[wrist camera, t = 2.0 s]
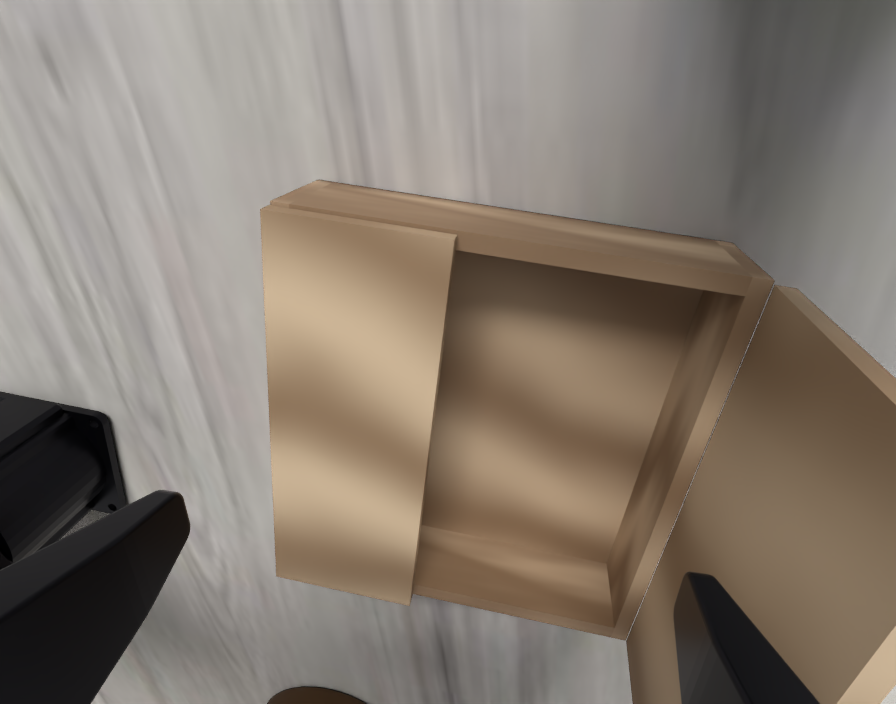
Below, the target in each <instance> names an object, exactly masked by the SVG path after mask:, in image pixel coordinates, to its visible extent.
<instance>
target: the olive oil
mask: <svg viewBox="0 0 896 704" xmlns="http://www.w3.org/2000/svg"><path fill="white" fill-rule="evenodd" d="M267 704H366V703H364V702H362V701H360V700H358V699H356V698H354V697H352V696H349V695H347V694H344V693H341V692H338V691H334V690H330V689H325V688H318V687H297V688H291V689H288V690H285V691H282V692H280V693H278V694H276V695H275V696H273V697H272V698H271V699H270V700H269V702H268V703H267Z"/></svg>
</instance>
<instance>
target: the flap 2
mask: <svg viewBox="0 0 896 704" xmlns="http://www.w3.org/2000/svg"><path fill="white" fill-rule="evenodd" d="M689 571H691V572H698V573H704V574H710V575H712V576H713V577H715V578H716V579H717V580H718V581H719V583H720V584H721V585H722V586H723V587H724V589H725V590H726V591H727V592H728V593H729V595H730V596H731V597H732V598H733V599H734V601H735V602H736V603H737V604H738V605H739V607H740V608H741V609H742V610H743V611H744V613H745V614H746V615H747V616H748V617H749V619H750V620H751V621H752V622H753V623H754V625H755V626H756V627H757V628H758V629H759V631H760V632H761V633H762V634H763V635H764V637H765V638H766V639H767V640H768V641H769V643H770V644H771V645H772V646H773V647H774V649H775V650H776V651H777V652H778V653H779V655H780V656H781V657H782V658H783V659H784V661H785V662H786V663H787V664H788V665H789V667H790V668H791V669H792V670H793V671H794V673H795V674H796V675H797V676H798V677H799V679H800V680H801V681H802V682H803V683H804V685H805V686H806V687H807V688H808V689H809V691H810V692H811V693H812V694H813V695H814V697H815V698H816V699H817V700H818V701H819V703H820V704H880V703H881V702H882V701H883V699H884V698H885V697H886V696H887V695H888V693H889V692H890V691H891V690H892V689H893V687H894V686H895V685H896V378H895V377H893V376H892V375H891V374H890V373H889V372H888V371H887V370H886V369H885V368H884V367H883V366H881V365H880V364H879V363H878V362H877V361H876V360H875V359H874V358H873V357H872V356H870V355H869V354H868V353H867V352H866V351H865V350H864V349H863V348H862V347H861V346H859V345H858V344H857V343H856V342H855V341H854V340H853V339H852V338H851V337H850V336H848V335H847V334H846V333H845V332H844V331H843V330H842V329H841V328H840V327H839V326H837V325H836V324H835V323H834V322H833V321H832V320H831V319H830V318H829V317H828V316H827V315H825V314H824V313H823V312H822V311H821V310H820V309H819V308H818V307H817V306H816V305H814V304H813V303H812V302H811V301H810V300H809V299H808V298H807V297H806V296H805V295H803V294H802V293H801V292H800V291H799V290H798V289H796V288H790V287H784V286H778V285H774V288H773V290H772V292H771V295H770V297H769V300H768V302H767V305H766V307H765V309H764V312H763V314H762V317H761V319H760V321H759V324H758V326H757V329H756V331H755V333H754V336H753V338H752V341H751V343H750V345H749V348H748V350H747V353H746V355H745V357H744V360H743V362H742V365H741V367H740V369H739V372H738V374H737V377H736V379H735V381H734V384H733V386H732V389H731V391H730V393H729V396H728V398H727V401H726V403H725V405H724V408H723V410H722V413H721V415H720V417H719V420H718V422H717V425H716V427H715V429H714V432H713V434H712V437H711V439H710V441H709V444H708V446H707V449H706V451H705V453H704V456H703V458H702V461H701V463H700V465H699V468H698V470H697V473H696V475H695V477H694V480H693V482H692V485H691V487H690V489H689V492H688V494H687V497H686V499H685V502H684V504H683V506H682V509H681V511H680V514H679V516H678V518H677V521H676V523H675V526H674V528H673V530H672V533H671V535H670V538H669V540H668V542H667V545H666V547H665V550H664V552H663V554H662V557H661V559H660V562H659V564H658V566H657V569H656V571H655V574H654V576H653V578H652V581H651V583H650V586H649V588H648V590H647V593H646V595H645V598H644V600H643V602H642V605H641V607H640V610H639V612H638V614H637V617H636V619H635V622H634V624H633V626H632V629H631V631H630V634H629V636H628V638H627V641H626V642H627V652H628V662H629V672H630V681H631V691H632V701H633V704H682V703H681V693H680V683H679V672H678V662H677V651H676V641H675V630H674V619H673V611H674V604H675V601H676V597H677V594H678V591H679V588H680V585H681V582H682V578H683V576H684V574H685V573H686V572H689Z"/></svg>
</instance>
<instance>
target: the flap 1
mask: <svg viewBox="0 0 896 704" xmlns="http://www.w3.org/2000/svg"><path fill="white" fill-rule="evenodd" d="M260 216H261V239H262V261H263V284H264V307H265V329H266V352H267V375H268V397H269V420H270V443H271V465H272V488H273V511H274V533H275V556H276V576H277V577H282V578H286V579H291V580H295V581H300V582H304V583H309V584H313V585H318V586H322V587H327V588H331V589H336V590H340V591H345V592H349V593H354V594H358V595H362V596H367V597H371V598H376V599H380V600H385V601H389V602H394V603H398V604H403V605H407V606H410V602H411V598H412V594H413V587H414V579H415V571H416V563H417V555H418V547H419V539H420V531H421V523H422V515H423V507H424V499H425V491H426V483H427V475H428V467H429V459H430V451H431V443H432V435H433V427H434V419H435V411H436V403H437V395H438V387H439V378H440V370H441V362H442V354H443V346H444V338H445V330H446V322H447V314H448V306H449V298H450V290H451V282H452V274H453V266H454V258H455V250H456V242H457V235H456V234H450V233H443V232H437V231H431V230H424V229H418V228H412V227H405V226H399V225H393V224H386V223H380V222H374V221H367V220H361V219H355V218H349V217H342V216H336V215H330V214H323V213H317V212H311V211H304V210H298V209H292V208H285V207H279V206H273V205H268V206H266V207H264V208H262V209H260Z"/></svg>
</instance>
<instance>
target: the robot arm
mask: <svg viewBox="0 0 896 704" xmlns="http://www.w3.org/2000/svg"><path fill="white" fill-rule="evenodd" d="M91 509H92V510H96V511H101V512H105V513H110V515H108V516H106V517H104V518H102V519H100V520H98V521H96V522H94V523H92V524H90V525H88V526H86V527H84V528H82V529H80V530H78V531H76V532H74V533H72V534H70V535H68V536H66V537H64V538H62V537H63V536H64V535H65V534H66V533H67V532H68V531H69V530H70V529H71V528H72V527H73V526H74V525H76V524H77V523H78V522H79V521H80V520H81V519H82V518H83V517H84V516H85V515H86V514H87V513H88V512H89V511H90V510H91ZM189 533H190V521H189V518H188V514H187V510H186V506H185V502H184V499H183V496H182V495H181V494H180V493H178V492H173V491H166V490H158V491H155V492H153V493H151V494H149V495H147V496H145V497H143V498H141V499H139V500H137V501H135V502H133V503H131V504H129V505H127V506H126V502H125V497H124V492H123V487H122V482H121V478H120V473H119V468H118V463H117V459H116V454H115V449H114V444H113V439H112V435H111V430H110V425H109V421H108V418H107V417H106V416H105V415H104V414H103V413H101V412H99V411H94V410H89V409H84V408H79V407H74V406H69V405H64V404H59V403H54V402H49V401H44V400H39V399H34V398H29V397H24V396H19V395H14V394H9V393H4V392H0V704H91V702H92V701H93V699H94V698H95V696H96V695H97V693H98V691H99V690H100V688H101V687H102V685H103V684H104V682H105V681H106V679H107V677H108V676H109V674H110V673H111V671H112V670H113V668H114V667H115V665H116V663H117V662H118V660H119V659H120V657H121V656H122V654H123V653H124V651H125V649H126V648H127V646H128V645H129V643H130V642H131V640H132V639H133V637H134V635H135V634H136V632H137V631H138V629H139V628H140V626H141V624H142V623H143V621H144V620H145V618H146V616H147V615H148V613H149V611H150V609H151V608H152V606H153V604H154V602H155V600H156V598H157V596H158V594H159V593H160V591H161V589H162V587H163V585H164V583H165V581H166V579H167V577H168V575H169V573H170V571H171V569H172V567H173V566H174V564H175V562H176V560H177V558H178V556H179V554H180V552H181V550H182V548H183V546H184V544H185V542H186V541H187V538H188V536H189ZM61 538H62V539H61ZM673 619H674V630H675V641H676V651H677V662H678V672H679V683H680V693H681V703H682V704H820V703H819V701H818V700H817V699H816V698H815V697H814V695H813V694H812V693H811V692H810V691H809V689H808V688H807V687H806V686H805V685H804V683H803V682H802V681H801V680H800V679H799V677H798V676H797V675H796V674H795V673H794V671H793V670H792V669H791V668H790V667H789V665H788V664H787V663H786V662H785V661H784V659H783V658H782V657H781V656H780V655H779V653H778V652H777V651H776V650H775V649H774V647H773V646H772V645H771V644H770V643H769V641H768V640H767V639H766V638H765V637H764V635H763V634H762V633H761V632H760V631H759V629H758V628H757V627H756V626H755V625H754V623H753V622H752V621H751V620H750V619H749V617H748V616H747V615H746V614H745V613H744V611H743V610H742V609H741V608H740V607H739V605H738V604H737V603H736V602H735V601H734V599H733V598H732V597H731V596H730V595H729V593H728V592H727V591H726V590H725V589H724V587H723V586H722V585H721V584H720V583H719V581H718V580H717V579H716V578H715V577H713V576H712V575H710V574H704V573H698V572H691V571H689V572H686V573H685V574H684V576H683V578H682V582H681V585H680V588H679V591H678V594H677V597H676V601H675V604H674V611H673Z"/></svg>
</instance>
